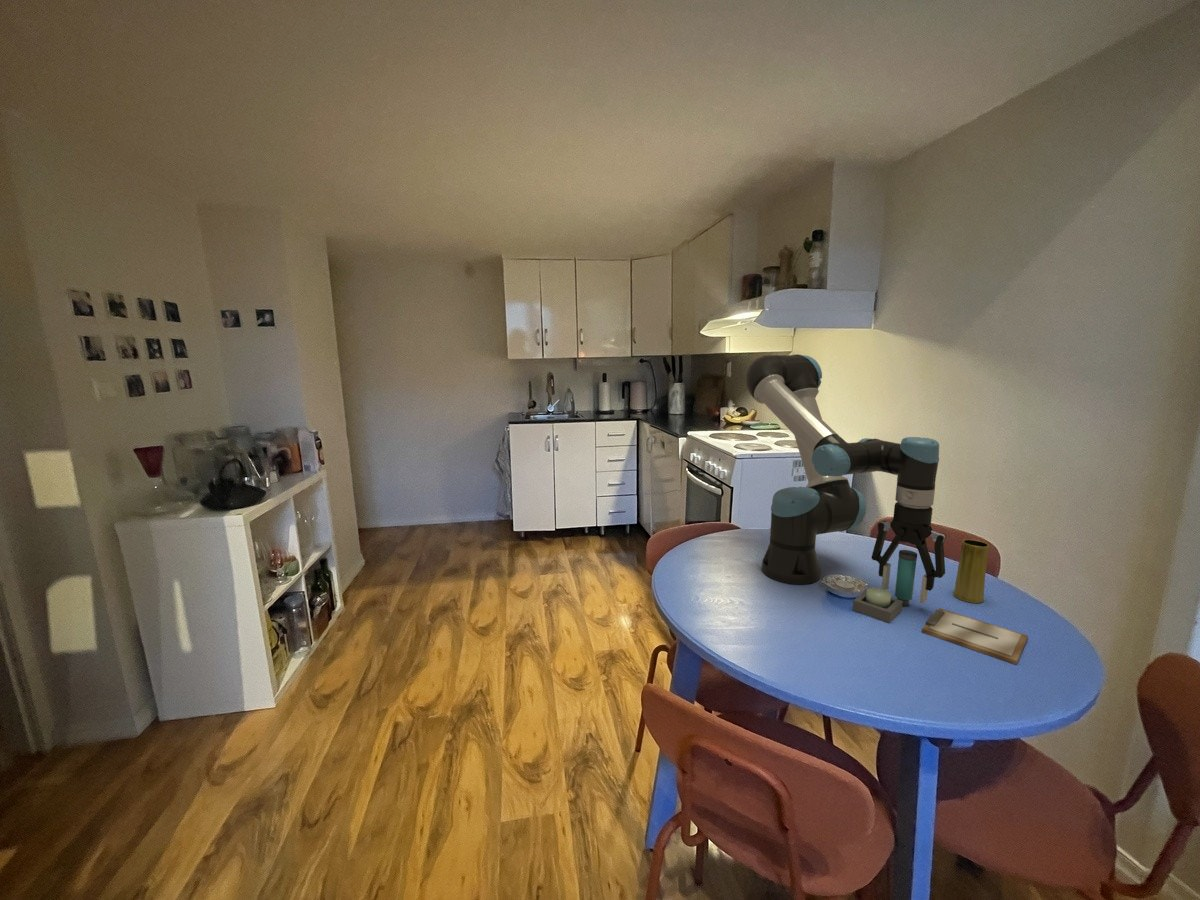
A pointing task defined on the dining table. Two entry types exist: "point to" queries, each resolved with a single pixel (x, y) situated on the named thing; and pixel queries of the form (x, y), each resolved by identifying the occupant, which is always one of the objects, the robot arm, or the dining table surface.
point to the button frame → (877, 608)
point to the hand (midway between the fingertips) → (903, 595)
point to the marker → (905, 576)
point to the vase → (971, 571)
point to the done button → (878, 597)
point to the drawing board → (976, 635)
